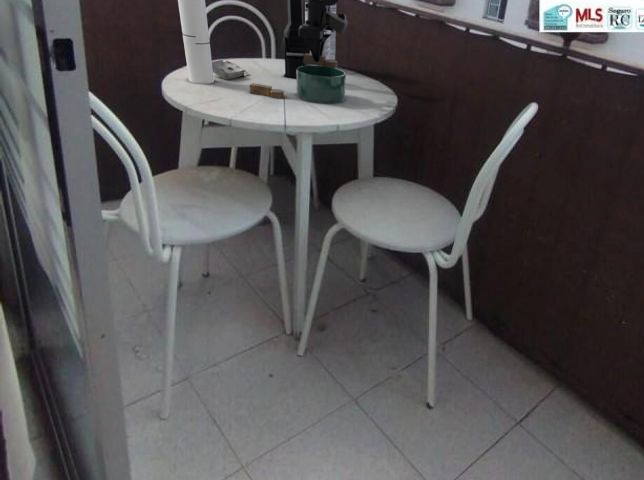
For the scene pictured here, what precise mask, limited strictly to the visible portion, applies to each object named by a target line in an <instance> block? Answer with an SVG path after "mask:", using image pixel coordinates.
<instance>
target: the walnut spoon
mask: <svg viewBox="0 0 644 480" xmlns="http://www.w3.org/2000/svg"><path fill="white" fill-rule="evenodd" d="M304 63H306V64H312V65H318V66H324V67H327V68H336V69H338V61H337V60H336V59H335V60H330V59H326V56H320V55H319V61H318V62H315V61H314V59H313V56H312V54H307V53H306V54H304Z"/></svg>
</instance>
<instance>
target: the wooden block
mask: <svg viewBox="0 0 644 480" xmlns="http://www.w3.org/2000/svg"><path fill="white" fill-rule="evenodd" d="M249 93H250V94H255V95H261V96H266V97H270V98H274V99H283V98H284V96H285V95H284V90H283V89H280V88H272V85H266V84H259V83H253V82H251V83H250V84H249Z"/></svg>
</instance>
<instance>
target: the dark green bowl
mask: <svg viewBox="0 0 644 480" xmlns="http://www.w3.org/2000/svg"><path fill="white" fill-rule="evenodd" d="M296 73H297V78H296V95H297V97H298V98H299V99H301V100H304V101H306V102H310V103H316V104H326V105H329V104H330V105H331V104H332V105H333V104H339V103H343V102H344V101H345V100H346V78H347V77H346V75H347V74H346V72H345V71H344V70H342V69H339V68H327V67H324V66H317V65H306V66H300V67H297V69H296Z"/></svg>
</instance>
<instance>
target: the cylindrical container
mask: <svg viewBox="0 0 644 480" xmlns="http://www.w3.org/2000/svg"><path fill="white" fill-rule="evenodd" d="M177 3H178V4H177V5H178V11H179V18H180V25H181V32H182V40H183V45H184V46H183V47H184V54H185V61H186V69H187V76H188V81H189V82H190V83H194V84H202V85H206V84H207V85H208V84H213V83H214V82H215V79H214V73H213V68H212V62H213V61H212V51H211V42H210V33H209V25H208V16H207V6H206V0H177Z"/></svg>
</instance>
